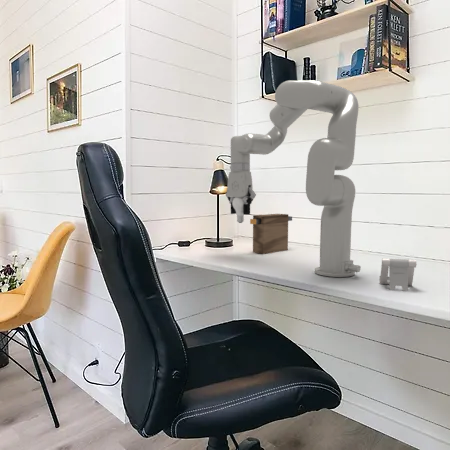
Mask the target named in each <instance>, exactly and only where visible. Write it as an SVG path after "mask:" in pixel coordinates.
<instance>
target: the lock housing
mask: <svg viewBox="0 0 450 450" xmlns="http://www.w3.org/2000/svg"><path fill="white" fill-rule="evenodd" d="M288 216H289V214H287V213H268V214H256V215H255V214H254V215H252V219H260V218H261V224H252V253H255V254H262V255H266V254H272V253H277V252H284V251H289V221H288Z"/></svg>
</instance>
